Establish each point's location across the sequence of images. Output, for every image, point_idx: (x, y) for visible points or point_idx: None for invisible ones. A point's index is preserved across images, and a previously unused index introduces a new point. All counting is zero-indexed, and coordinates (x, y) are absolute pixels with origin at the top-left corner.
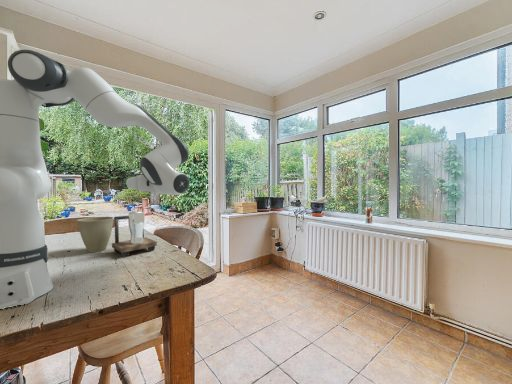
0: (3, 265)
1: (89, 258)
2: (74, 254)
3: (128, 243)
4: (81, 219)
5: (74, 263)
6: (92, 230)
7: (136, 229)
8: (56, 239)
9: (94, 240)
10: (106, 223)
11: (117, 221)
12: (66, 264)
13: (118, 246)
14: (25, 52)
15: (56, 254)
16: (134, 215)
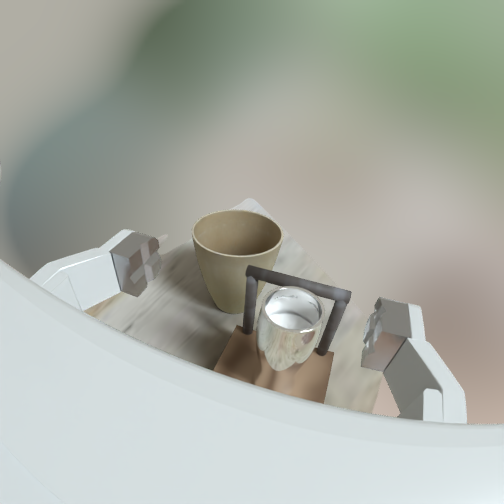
0: None
1: (178, 334)
2: (192, 287)
3: (254, 366)
4: (222, 212)
5: (142, 333)
6: (204, 268)
7: (266, 368)
8: (253, 203)
9: (212, 290)
10: (236, 266)
11: (252, 284)
12: (134, 325)
13: (216, 366)
14: None
15: (183, 263)
16: (267, 328)
